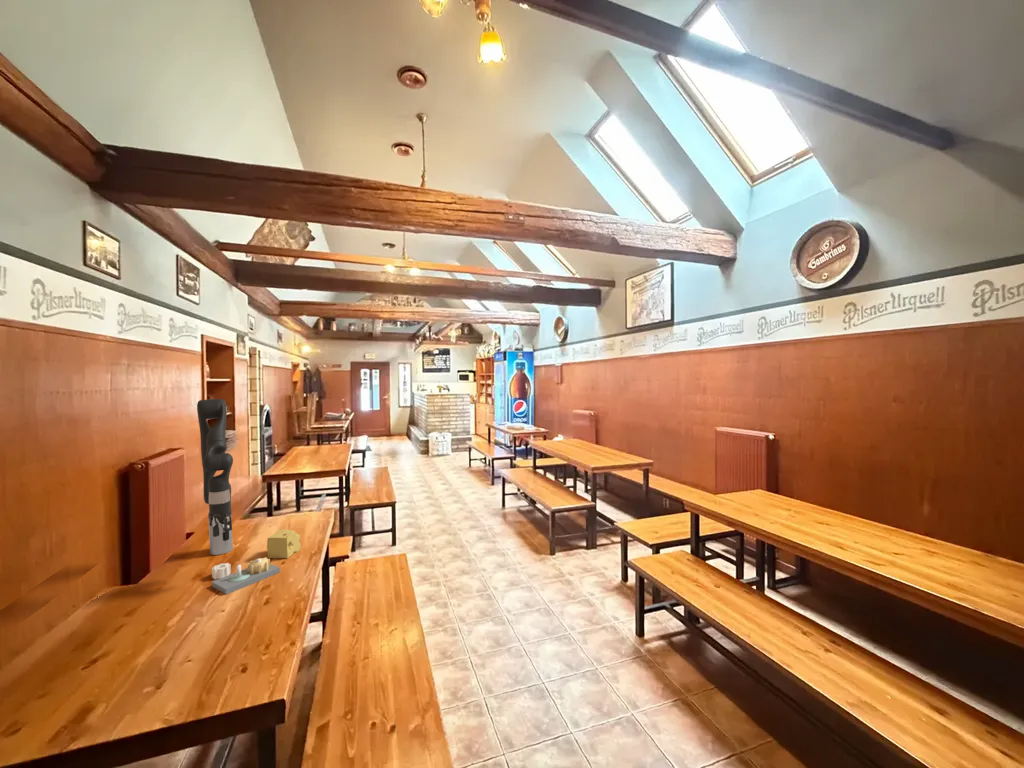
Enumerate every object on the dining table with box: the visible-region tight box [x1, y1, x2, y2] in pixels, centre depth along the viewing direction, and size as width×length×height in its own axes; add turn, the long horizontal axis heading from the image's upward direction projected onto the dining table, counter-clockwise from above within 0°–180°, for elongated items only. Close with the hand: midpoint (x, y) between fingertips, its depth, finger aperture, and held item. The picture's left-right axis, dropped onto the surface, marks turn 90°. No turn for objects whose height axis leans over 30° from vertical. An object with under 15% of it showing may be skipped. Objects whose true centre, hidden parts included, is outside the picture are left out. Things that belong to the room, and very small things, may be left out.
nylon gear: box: [211, 562, 232, 580], centre depth 181 cm, size 6×6×4 cm
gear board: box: [211, 556, 281, 595], centre depth 177 cm, size 12×21×7 cm, turn 148°
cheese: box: [266, 528, 302, 559], centre depth 202 cm, size 10×11×10 cm
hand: (221, 538), depth 181 cm, fingers open, 8 cm apart
